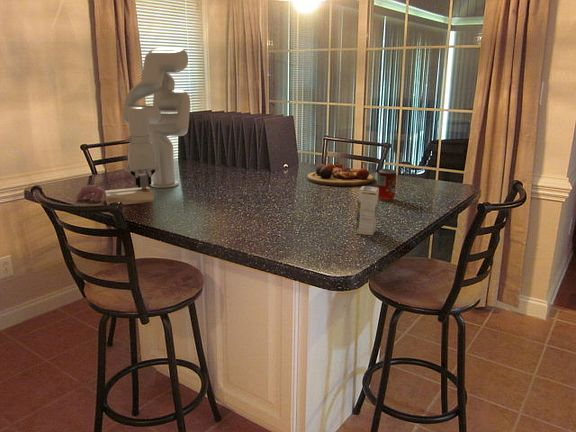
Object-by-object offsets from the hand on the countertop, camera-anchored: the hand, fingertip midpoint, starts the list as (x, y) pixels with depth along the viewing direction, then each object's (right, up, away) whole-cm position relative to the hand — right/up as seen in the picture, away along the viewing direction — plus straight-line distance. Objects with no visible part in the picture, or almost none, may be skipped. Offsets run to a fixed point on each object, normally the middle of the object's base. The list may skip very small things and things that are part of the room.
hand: (143, 186), depth 190 cm
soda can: (+97, -5, +6) cm, 97 cm away
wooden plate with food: (+82, +5, +42) cm, 92 cm away
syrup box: (+82, -17, -35) cm, 91 cm away
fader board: (-5, -6, -1) cm, 8 cm away
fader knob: (0, -1, 0) cm, 1 cm away
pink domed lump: (-21, -6, 0) cm, 21 cm away
